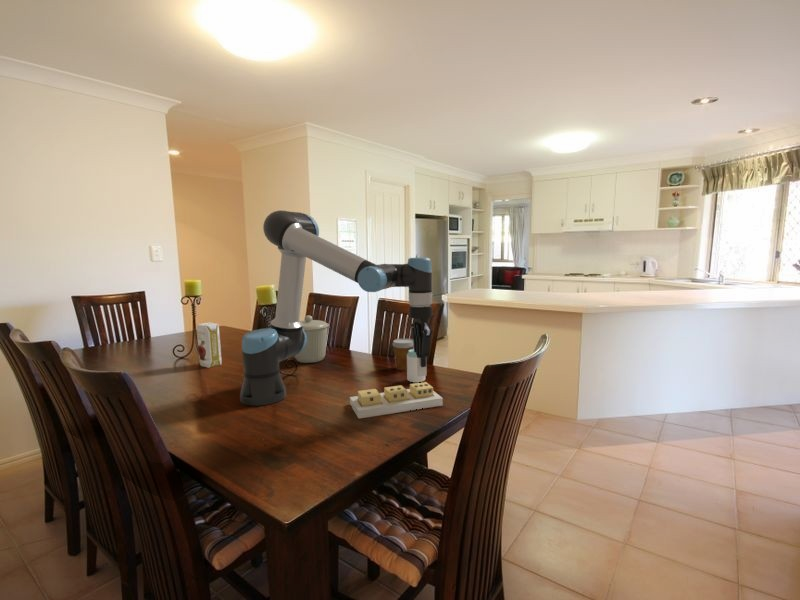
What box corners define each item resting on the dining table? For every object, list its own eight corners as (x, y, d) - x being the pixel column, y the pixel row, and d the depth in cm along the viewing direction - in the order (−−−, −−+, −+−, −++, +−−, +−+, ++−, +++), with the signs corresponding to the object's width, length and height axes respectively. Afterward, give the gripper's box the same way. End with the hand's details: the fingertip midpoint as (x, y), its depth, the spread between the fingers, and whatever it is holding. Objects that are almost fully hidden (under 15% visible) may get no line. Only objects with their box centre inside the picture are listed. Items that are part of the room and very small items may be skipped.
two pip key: (390, 404, 128) (390, 393, 127) (384, 397, 133) (384, 387, 133) (407, 401, 129) (407, 390, 129) (401, 395, 135) (401, 384, 135)
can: (424, 384, 151) (423, 353, 150) (405, 383, 153) (405, 352, 151) (426, 378, 158) (426, 348, 156) (409, 377, 159) (408, 347, 158)
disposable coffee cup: (419, 367, 173) (418, 339, 171) (407, 372, 165) (407, 344, 163) (400, 363, 178) (400, 337, 177) (388, 369, 170) (387, 341, 169)
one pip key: (362, 408, 125) (362, 397, 124) (358, 401, 130) (357, 390, 130) (381, 405, 127) (380, 394, 126) (375, 398, 132) (375, 388, 132)
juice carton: (213, 361, 186) (210, 321, 184) (224, 364, 181) (221, 323, 179) (197, 365, 180) (194, 324, 178) (207, 368, 175) (204, 326, 173)
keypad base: (358, 418, 122) (358, 410, 121) (350, 404, 133) (349, 397, 132) (442, 405, 131) (442, 398, 130) (428, 393, 142) (428, 386, 142)
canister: (293, 356, 194) (291, 313, 191) (331, 354, 196) (329, 311, 193) (287, 366, 176) (284, 319, 174) (328, 365, 178) (327, 318, 175)
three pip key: (416, 400, 130) (416, 389, 130) (409, 394, 136) (409, 383, 136) (433, 398, 132) (433, 387, 132) (426, 391, 138) (426, 381, 138)
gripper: (439, 306, 126) (440, 379, 128) (423, 302, 138) (424, 368, 141) (417, 308, 123) (418, 382, 126) (403, 303, 135) (404, 371, 138)
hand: (422, 375), depth 133 cm, fingers closed
